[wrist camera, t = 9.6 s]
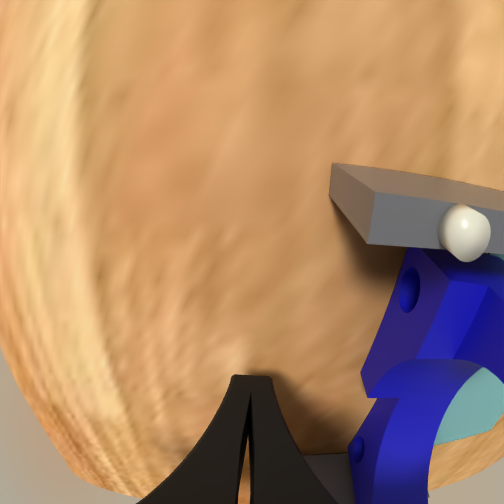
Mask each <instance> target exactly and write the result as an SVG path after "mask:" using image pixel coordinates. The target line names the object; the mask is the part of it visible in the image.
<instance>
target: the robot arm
mask: <svg viewBox="0 0 504 504" xmlns="http://www.w3.org/2000/svg"><path fill="white" fill-rule="evenodd" d="M247 438H248V441H249V463H250V492H251V493H250V504H339V503H338V502H337V501H336V500H335V499H334V498H333V497H332V495H331V494H330V493H329V492H328V491H327V489H326V488H325V487H324V486H323V484H322V483H321V482H320V481H319V479H318V478H317V477H316V475H315V474H314V472H313V471H312V470H311V468H310V467H309V465H308V464H307V462H306V460H305V459H304V457H303V456H302V454H301V452H300V450H299V449H298V447H297V445H296V443H295V441H294V439H293V437H292V435H291V433H290V431H289V429H288V427H287V425H286V422H285V420H284V418H283V415H282V413H281V410H280V408H279V405H278V402H277V399H276V395H275V392H274V388H273V383H272V378H271V377H269V376H253V375H237V374H235V375H233V376H232V377H231V381H230V384H229V387H228V390H227V392H226V394H225V397H224V399H223V401H222V403H221V405H220V407H219V409H218V411H217V412H216V414H215V416H214V418H213V420H212V421H211V423H210V424H209V426H208V428H207V429H206V431H205V432H204V434H203V435H202V437H201V438H200V440H199V441H198V442H197V444H196V445H195V447H194V448H193V449H192V450H191V452H190V453H189V454H188V455H187V457H186V458H185V459H184V460H183V461H182V462H181V463H180V465H179V466H178V467H177V468H176V469H175V470H174V471H173V472H172V473H171V474H170V475H169V476H168V477H167V478H166V479H165V480H164V481H163V482H162V483H161V484H160V485H159V486H157V487H156V488H155V489H154V490H153V491H152V492H151V493H150V494H148V495H147V496H146V497H145V498H143V499H142V500H141V501H139V502H138V503H136V504H238V493H239V485H240V479H241V473H242V467H243V462H244V456H245V450H246V444H247Z"/></svg>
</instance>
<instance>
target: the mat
mask: <svg viewBox="0 0 504 504" xmlns="http://www.w3.org/2000/svg"><path fill="white" fill-rule="evenodd" d="M489 255H491V256H496V257H499V258H501V259H502V260H503V261H504V254H494V253H489ZM503 413H504V384H503V383H502V382H501V381H500V380H499V379H498V377H496V376H495V375H494V374H493V373H491V372H490V371H489V370H488V369H486V368H484V367H483V368H481V369H480V370H478V371H477V372H476V373H475V374H474V375H472V376H471V377H470V378H469V379H468V380H467V381H466V382H465V383H464V384H463V386H462V387H461V388H460V390H459V391H458V392H457V394H456V395H455V397H454V398H453V400H452V401H451V403H450V405H449V406H448V408H447V410H446V412H445V414H444V417H443V419H442V421H441V424H440V426H439V429H438V432H437V435H436V438H435V441H434V445H438V444H443V443H447V442H451V441H455V440H459V439H462V438H466V437H470V436H473V435H477V434H480V433H483V432H486V431H490V430H491V429H492V427H493V426H494V425H495V423H496V422H497V421H498V419H499V418H500V417H501V415H502V414H503ZM434 445H433V446H434Z"/></svg>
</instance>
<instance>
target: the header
mask: <svg viewBox="0 0 504 504" xmlns="http://www.w3.org/2000/svg"><path fill="white" fill-rule="evenodd" d="M329 196H330V197H331V198H332V200H333V201H334V202H335V203H336V205H337V206H338V207H339V208H340V210H341V211H342V212H343V213H344V215H345V216H346V217H347V218H348V220H349V221H350V222H351V223H352V225H353V226H354V227H355V229H356V230H357V231H358V232H359V234H360V235H361V236H362V238H363V239H364V240H365V242H366V243H367V244H376V245H390V246H404V247H418V248H431V249H445V250H448V251H449V252H451V253H452V254H453V255H454V256H455V257H456V258H458V259H459V260H460V261H463V262H471V261H473V260H475V259H477V258H478V257H480V256H481V255H482V254H483V253H494V254H504V191H500V190H496V189H491V188H487V187H482V186H478V185H473V184H468V183H464V182H459V181H453V180H448V179H443V178H438V177H432V176H426V175H420V174H414V173H408V172H401V171H395V170H388V169H381V168H373V167H365V166H357V165H348V164H339V163H332V169H331V179H330V189H329ZM302 456H303V457H304V459H305V460H306V462H307V464H308V465H309V467H310V468H311V470H312V471H313V472H314V474H315V475H316V477H317V478H318V479H319V481H320V482H321V483H322V484H323V486H324V487H325V488H326V489H327V491H328V492H329V493H330V494H331V495H332V497H333V498H334V499H335V500H336V501H337V502H338V503H339V504H356V501H355V494H354V486H353V479H352V472H351V465H350V459H349V453H342V454H326V455H302ZM428 498H429V494H428Z"/></svg>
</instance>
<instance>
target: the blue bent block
mask: <svg viewBox="0 0 504 504" xmlns="http://www.w3.org/2000/svg"><path fill="white" fill-rule="evenodd" d="M483 367H484V368H486V369H488V370H489V371H490V372H491V373H493V374H494V375H495V376H496V377H498V379H499V380H500V381H501V382H502V383H503V384H504V261H503V260H502V259H501V258H499V257H496V256H491V255H487V254H482V255H481V256H480V257H478V258H477V259H475V260H473V261H471V262H463V261H460V260H459V259H458V258H456V257H455V256H454V255H453V254H452V253H451V252H449V251H448V250H445V249H431V248H418V247H408V248H407V251H406V254H405V258H404V261H403V264H402V267H401V270H400V273H399V276H398V279H397V282H396V285H395V288H394V291H393V293H392V296H391V299H390V302H389V304H388V307H387V310H386V312H385V315H384V318H383V320H382V323H381V325H380V328H379V330H378V333H377V335H376V338H375V340H374V343H373V345H372V347H371V350H370V352H369V354H368V357H367V359H366V361H365V363H364V366H363V368H362V370H361V376H362V379H363V383H364V387H365V390H366V394H367V398H378V399H377V401H376V402H375V404H374V406H373V408H372V409H371V411H370V413H369V414H368V416H367V418H366V419H365V421H364V423H363V424H362V426H361V428H360V429H359V431H358V432H357V434H356V436H355V437H354V439H353V440H352V442H351V443H350V445H349V446H348V452H349V459H350V465H351V472H352V479H353V486H354V494H355V501H356V504H428V473H429V465H430V459H431V454H432V449H433V445H434V441H435V438H436V435H437V432H438V429H439V426H440V424H441V421H442V419H443V417H444V414H445V412H446V410H447V408H448V406H449V405H450V403H451V401H452V400H453V398H454V397H455V395H456V394H457V392H458V391H459V390H460V388H461V387H462V386H463V384H464V383H465V382H466V381H467V380H468V379H469V378H470V377H471V376H472V375H474V374H475V373H476V372H477V371H478V370H480V369H481V368H483Z"/></svg>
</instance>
